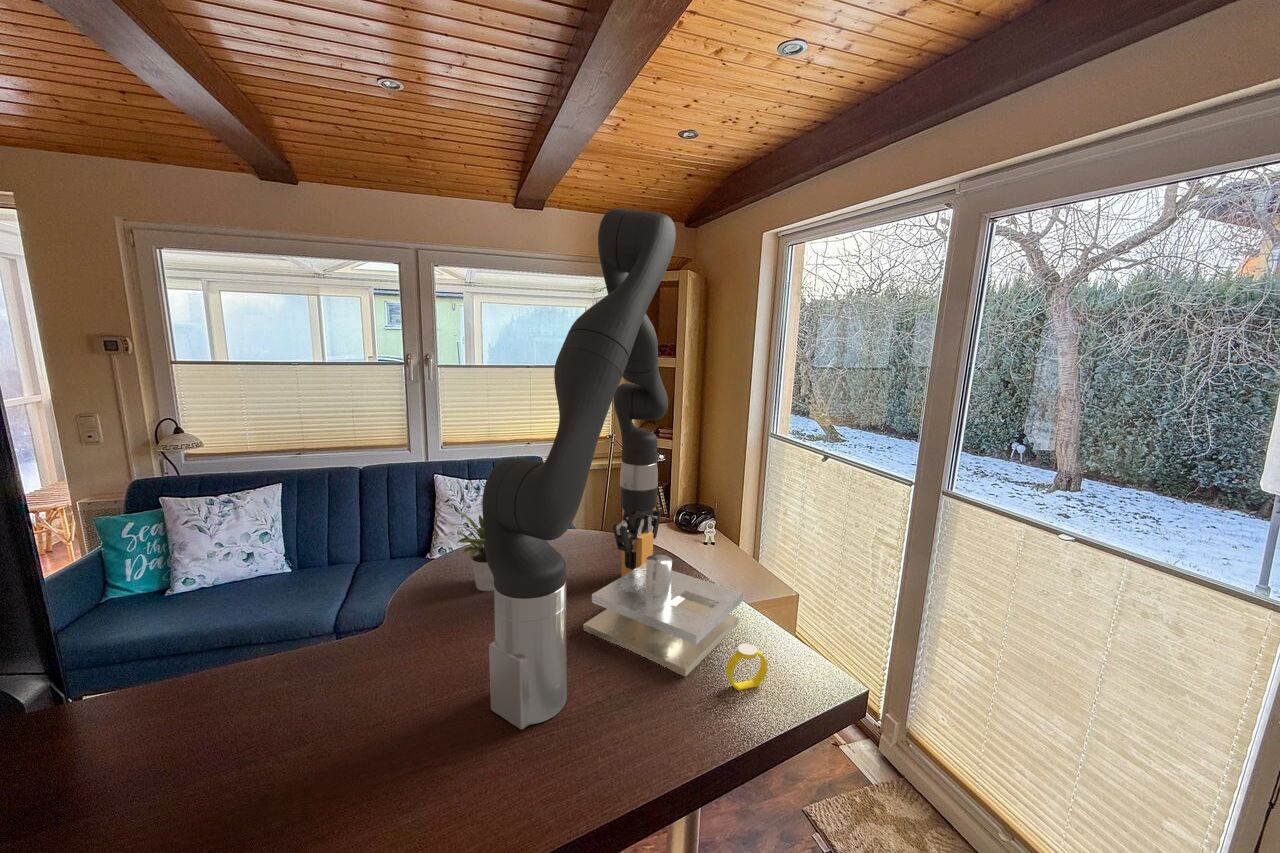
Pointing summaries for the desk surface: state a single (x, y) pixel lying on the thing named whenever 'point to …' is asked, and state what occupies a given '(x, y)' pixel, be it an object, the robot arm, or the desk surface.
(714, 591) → the two-tier square platform
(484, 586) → the house plant
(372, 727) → the desk surface
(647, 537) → the orange rectangular prism
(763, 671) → the watch
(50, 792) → the desk surface
